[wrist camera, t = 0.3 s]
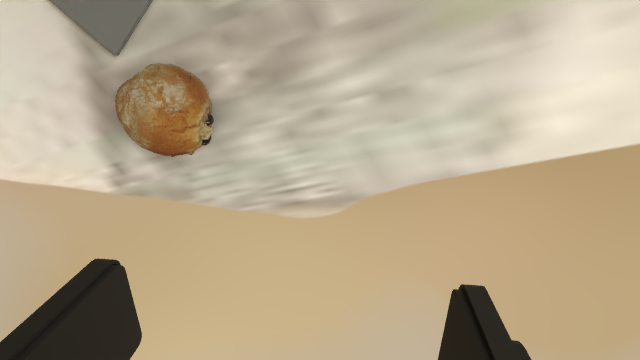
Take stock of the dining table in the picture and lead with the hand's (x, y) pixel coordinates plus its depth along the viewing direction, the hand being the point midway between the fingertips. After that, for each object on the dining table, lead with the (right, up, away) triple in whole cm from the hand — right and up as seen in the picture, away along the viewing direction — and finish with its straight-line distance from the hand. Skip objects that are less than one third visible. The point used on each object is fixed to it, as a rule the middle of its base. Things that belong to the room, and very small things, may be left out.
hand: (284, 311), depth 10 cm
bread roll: (-16, +12, +31) cm, 36 cm away
